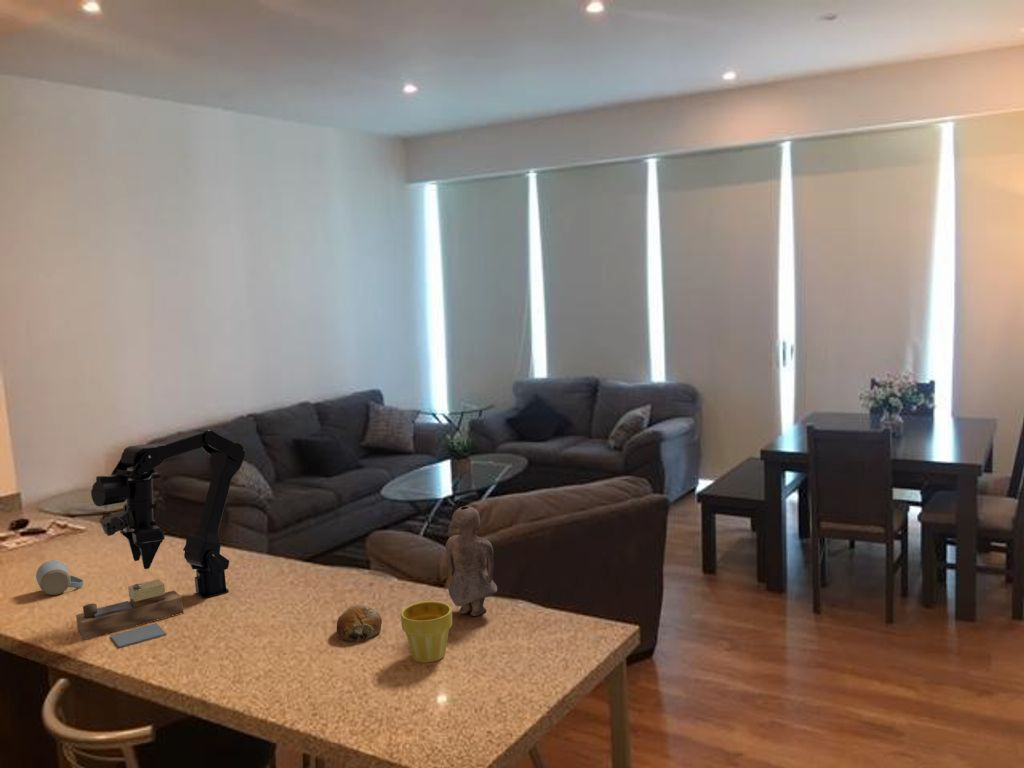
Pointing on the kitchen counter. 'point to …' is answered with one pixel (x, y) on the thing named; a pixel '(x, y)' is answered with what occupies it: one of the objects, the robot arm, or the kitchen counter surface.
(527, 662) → the kitchen counter surface
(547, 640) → the kitchen counter surface
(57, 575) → the ceramic mug
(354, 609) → the bread roll
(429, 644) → the plant pot
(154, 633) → the mat
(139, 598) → the lever cap
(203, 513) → the robot arm
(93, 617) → the plane body
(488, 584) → the clay figurine
